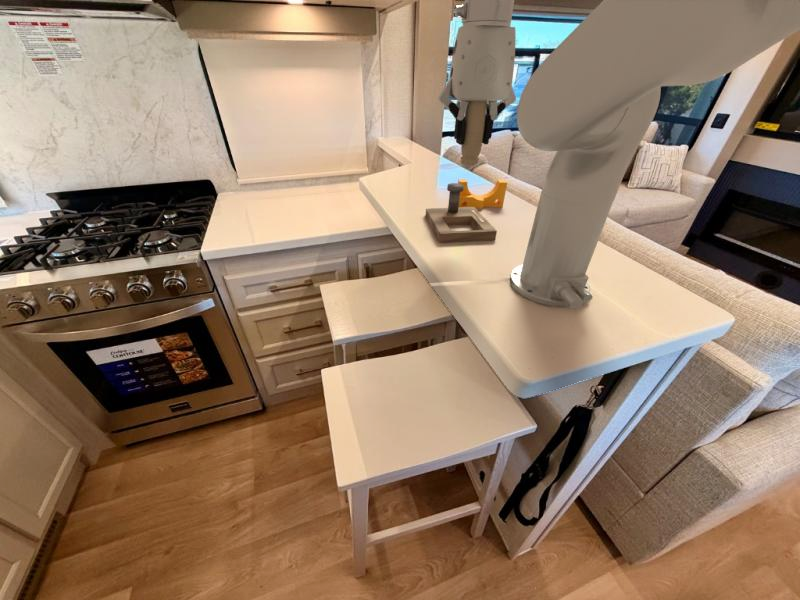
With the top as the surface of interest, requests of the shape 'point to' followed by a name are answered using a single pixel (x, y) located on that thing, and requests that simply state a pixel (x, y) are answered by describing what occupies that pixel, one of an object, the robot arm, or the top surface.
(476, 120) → the handle
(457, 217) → the plate
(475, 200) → the pipe clamp
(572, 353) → the top surface
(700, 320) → the top surface
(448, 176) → the top surface
